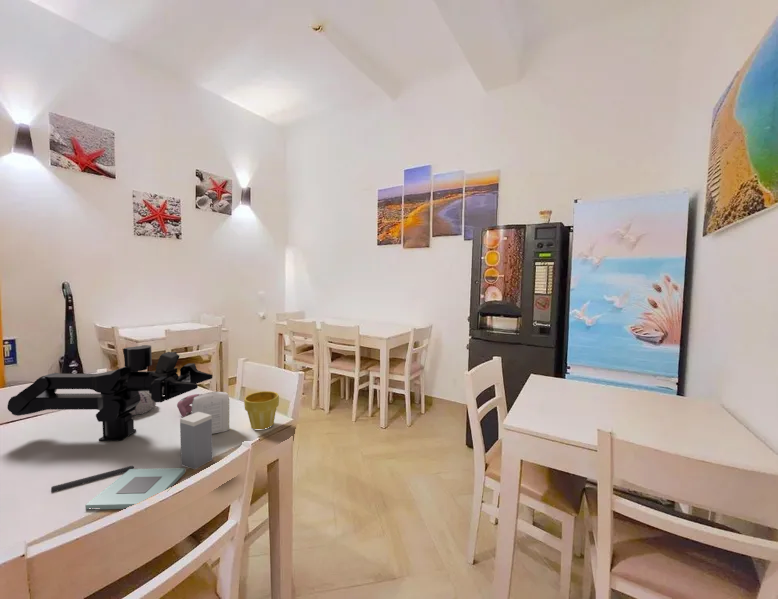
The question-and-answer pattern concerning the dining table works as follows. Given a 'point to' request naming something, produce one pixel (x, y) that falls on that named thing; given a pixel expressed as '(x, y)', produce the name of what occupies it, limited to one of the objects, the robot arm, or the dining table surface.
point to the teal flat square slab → (135, 487)
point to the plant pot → (261, 408)
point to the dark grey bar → (90, 478)
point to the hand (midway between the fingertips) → (205, 381)
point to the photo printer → (214, 409)
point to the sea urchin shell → (144, 403)
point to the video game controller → (186, 404)
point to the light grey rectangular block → (196, 439)
